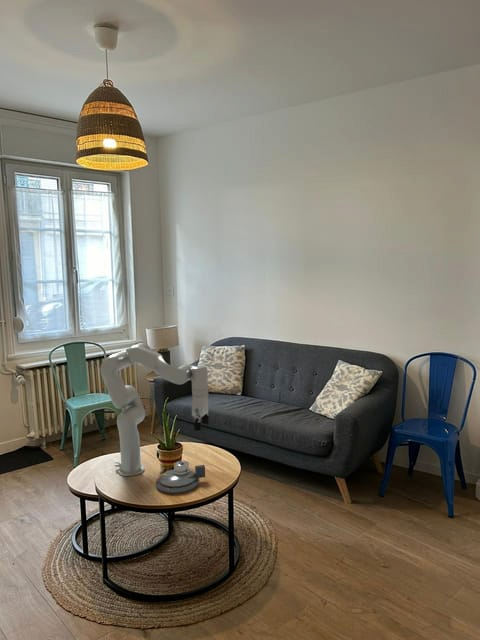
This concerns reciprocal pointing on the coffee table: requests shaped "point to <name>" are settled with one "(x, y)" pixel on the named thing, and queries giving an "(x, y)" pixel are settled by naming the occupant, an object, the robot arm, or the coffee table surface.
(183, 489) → the turntable base
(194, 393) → the robot arm
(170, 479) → the round gray housing
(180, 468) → the cover
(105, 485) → the coffee table surface
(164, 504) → the coffee table surface
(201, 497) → the coffee table surface
